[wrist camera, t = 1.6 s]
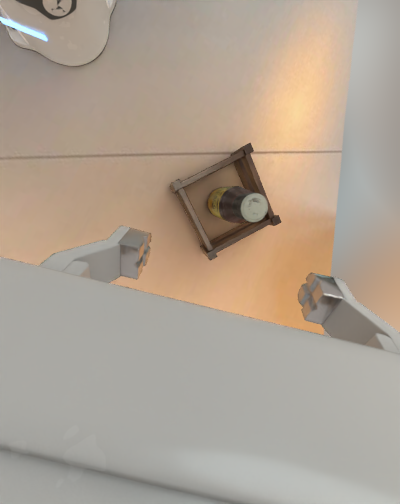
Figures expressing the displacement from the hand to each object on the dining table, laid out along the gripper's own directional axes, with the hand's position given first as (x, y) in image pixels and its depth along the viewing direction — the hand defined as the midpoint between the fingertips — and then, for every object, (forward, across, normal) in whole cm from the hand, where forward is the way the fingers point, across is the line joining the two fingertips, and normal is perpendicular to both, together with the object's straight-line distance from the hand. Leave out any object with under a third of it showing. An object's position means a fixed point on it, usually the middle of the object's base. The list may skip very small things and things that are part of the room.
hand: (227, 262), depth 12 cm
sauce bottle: (+39, 0, +12) cm, 40 cm away
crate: (+38, 0, +12) cm, 40 cm away
